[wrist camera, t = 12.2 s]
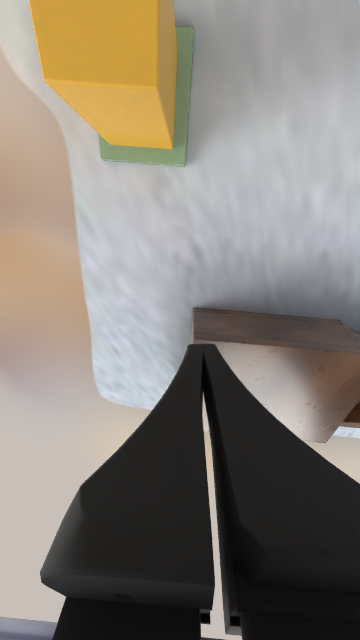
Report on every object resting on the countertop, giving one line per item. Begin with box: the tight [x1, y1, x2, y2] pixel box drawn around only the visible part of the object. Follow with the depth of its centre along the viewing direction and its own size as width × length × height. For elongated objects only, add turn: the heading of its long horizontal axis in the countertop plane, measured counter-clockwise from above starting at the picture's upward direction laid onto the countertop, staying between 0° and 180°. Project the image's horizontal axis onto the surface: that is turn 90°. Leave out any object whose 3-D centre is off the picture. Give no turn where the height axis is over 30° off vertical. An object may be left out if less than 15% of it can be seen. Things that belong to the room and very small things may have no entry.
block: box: [29, 0, 177, 149], centre depth 9 cm, size 4×4×6 cm
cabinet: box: [189, 308, 360, 443], centre depth 19 cm, size 15×11×6 cm
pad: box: [99, 26, 194, 167], centre depth 12 cm, size 6×6×1 cm
